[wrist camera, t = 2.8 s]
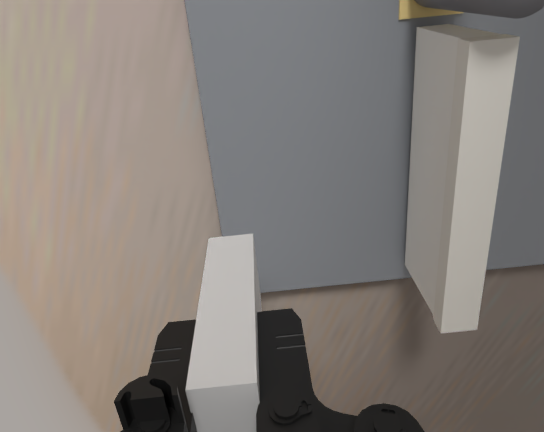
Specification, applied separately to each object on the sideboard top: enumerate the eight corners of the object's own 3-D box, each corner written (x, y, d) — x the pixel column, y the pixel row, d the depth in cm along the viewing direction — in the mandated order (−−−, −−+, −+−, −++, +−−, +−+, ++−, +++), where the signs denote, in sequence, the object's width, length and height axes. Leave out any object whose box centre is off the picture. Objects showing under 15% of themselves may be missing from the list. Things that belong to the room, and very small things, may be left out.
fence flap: (414, 27, 17) (469, 41, 13) (451, 23, 17) (519, 36, 13) (402, 264, 22) (440, 333, 17) (431, 261, 22) (477, 329, 17)
